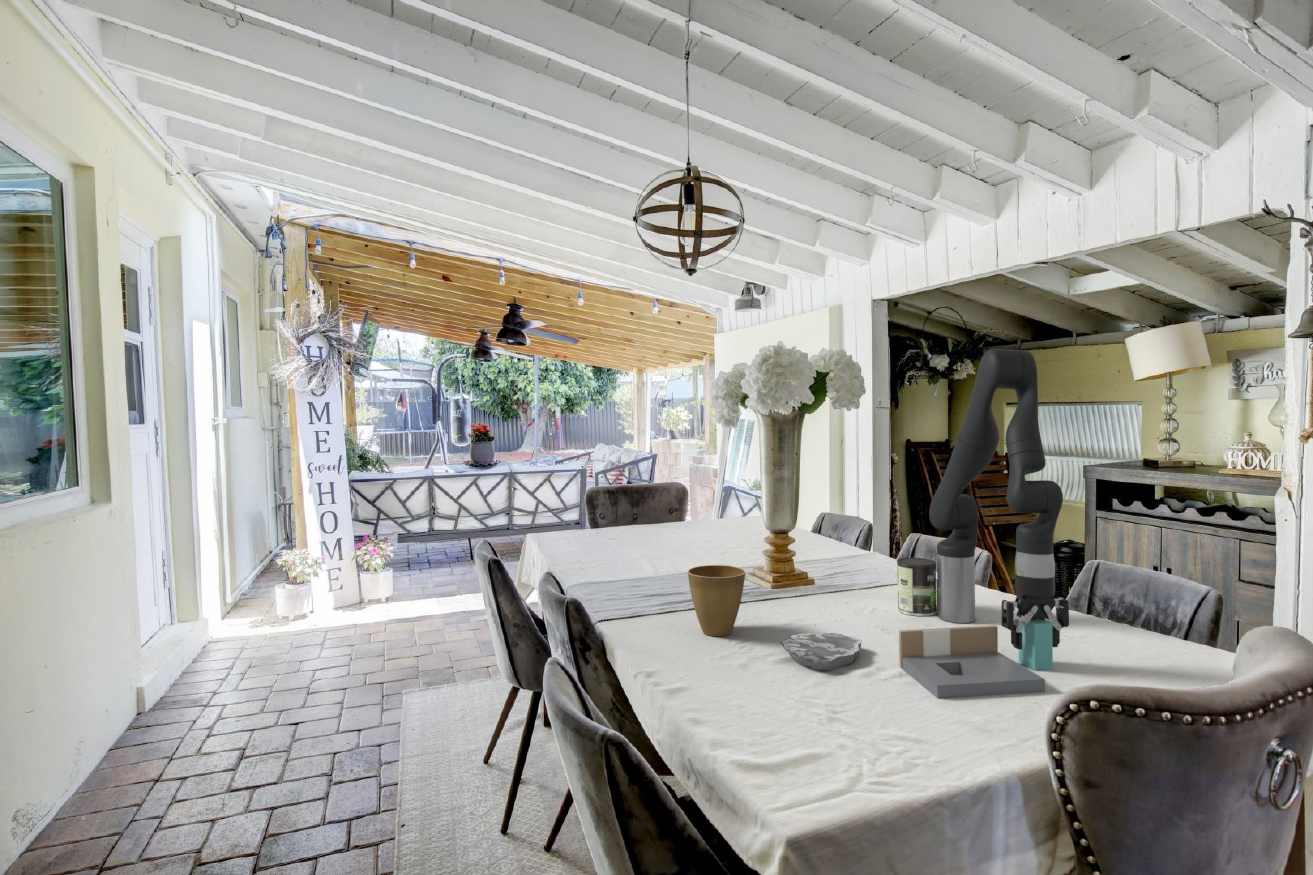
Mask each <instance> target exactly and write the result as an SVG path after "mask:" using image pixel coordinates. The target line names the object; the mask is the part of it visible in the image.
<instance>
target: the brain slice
mask: <svg viewBox="0 0 1313 875" xmlns="http://www.w3.org/2000/svg"><path fill="white" fill-rule="evenodd" d="M789 638H790V639H784V640H781V642H780V644H781V646H782V648H783V649H784V650H785V651H786V652H788V655H789V656H790V657H791V659H793V661H794V662H795V663H797V664H798V665H799V666H802V667H805V668H807V667H808V668H810V669H812V670H814V671H822V672H823V671H827V672H828V671H833V670H835V669H839V668H842V667H847V665H850V664H851V663H853V662H854V661H856V660H857V658H858V656H859V654H860V649H861V647H862V640H861V639H859V638H857V637H853V636H848V635H845V634H841V633H835V632H831V633H828V632H816V633H815V632H808V633H807V632H806V633H803V632H802V633H797V634H792V635H790V636H789Z"/></svg>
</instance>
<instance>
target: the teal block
mask: <svg viewBox="0 0 1313 875" xmlns="http://www.w3.org/2000/svg"><path fill="white" fill-rule="evenodd" d="M1021 618H1023V615H1022V616H1021ZM1021 633H1022V649H1018V662H1019V663H1021V664H1022V665H1025V666H1026V667H1027V668H1029V669H1031V670H1033V672H1035V671H1036V672H1037V671H1052V670H1054V669H1053V666H1054V665H1053V663H1054V662H1053V660H1054V659H1053V657H1054V656H1053V652H1054V651H1053V648H1054V647H1053V637H1052V623H1051V622H1048V621H1046V620H1040V619H1037V620H1030V621H1029V623H1028V624H1027V625H1025V626H1024V627H1023V629H1022V631H1021Z"/></svg>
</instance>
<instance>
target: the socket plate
mask: <svg viewBox="0 0 1313 875" xmlns="http://www.w3.org/2000/svg"><path fill="white" fill-rule="evenodd" d="M998 627H999V626H996V625H979V626H977V625H976V626H975V625H974V626H961V627H960V626H959V627H958V626H957V627H939V628H925V629H924V628H922V629H921V628H920V629H918V628H917V629H902V630H898V651H899V652H898V654H899V658H898V659H899V660H898V661H899V663H898V664H899V665H898V666H899V668H901V669H902V671H904V672H905V674H906V673H907V675H909V676H910V677H911V678H913V680H915V682H917V683H919V685H921V686H922V687H923V688H924V689H926V690H927V691H928V692H929V693H931V695H933V696H934V697H936V698H937V699H945V698H949V699H950V698H959V697H960V698H961V697H962V698H963V697H976V696H977V697H978V696H992V695H993V696H994V695H996V696H997V695H1008V694H1009V695H1011V694H1014V695H1015V694H1027V693H1040V692H1041V693H1043V692H1044V693H1045V690H1046V681H1045V678H1044V677H1042V676H1040V675H1038V674H1037V673H1035V671H1032V670H1030V669H1028V667H1027V668H1026V667H1025V666H1023V664H1022V665H1021V664H1019V663H1018V662H1017V661H1014V660H1013V659H1012V658H1010V657H1008V656H1006V655H1005V654H1003V653H1001V652H999V650H998V649H999V645H998V644H999V643H998V642H999V640H998V639H999V637H998V636H999V635H998V633H999V632H998ZM957 674H960V675H957Z"/></svg>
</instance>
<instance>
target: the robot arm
mask: <svg viewBox="0 0 1313 875" xmlns="http://www.w3.org/2000/svg"><path fill="white" fill-rule="evenodd" d="M1037 368H1038V367H1037V363H1036V359H1035V357H1034V355H1033V353H1031V352H1030V351H1028V350H1022V349H1012V348H1011V349H1009V348H991V349H988V350H987V351H985V352H984V354H983V355H982V357H981V359H980V362H979V365H978V367H977V371H976V375H975V380H974V384H973V389H972V392H971V396H970V400H969V404H968V407H967V411H966V413H965V416H964V420H963V422H962V424H961V426H960V429H959V432H958V434H957V437H956V440H955V443H954V445H953V446H954V447H953V449H952V453H951V456H950V459H949V462H948V464H947V467H946V470H945V472H944V474H943V477H942V478H941V481H940V483H939V485H938V487H937V489H936V491H935V493H934V495H933V497H932V500H931V502H930V505H929V511H928V512H929V513H928V514H929V520H930V523H931V525H932V526H933V527H934V528H935V529H937V530H943V531H945V530H946V531H947V530H948V531H951V530H952V533H951V534H949V536H948V537H946V538H944V539H943V540H941V541H939V542H938V543H937V545H936V611H937V613H936V614H937V617H938V619H941V620H942V621H945V622H950V623H958V624H959V623H961V624H966V623H967V624H968V623H969V624H970V623H973V622H975V621H976V578H975V577H976V572H975V571H976V568H975V567H976V566H975V564H976V563H975V562H976V560H975V551H976V548H977V545H978V531H979V530H978V529H979V528H978V527H979V509H978V504H977V502H976V500H975V499H974V498H973V497H972V496H971V495H969V494H962V493H963V492H964V490H966V487H968V485H970V483H971V482H972V481H974V480H975V479H976V478H977V477H978V476H979V475H980V474H982V473H983V472H984V471H985V469H987V468H988V467H989V465H990V464H991V462H992V460H993V458H994V456H995V453H996V450H997V447H998V445H999V442H1000V431H999V428H998V425H997V422H996V419H995V417H994V412H993V408H992V403H993V398H994V395H995V392H996V390H997V389H1002V390H1003V389H1006V390H1007V389H1008V390H1014V391H1015V394H1016V399H1017V404H1016V405H1017V406H1016V408H1015V412H1014V413H1013V415H1012V417H1011V418H1010V419H1011V420H1010V421H1009V423H1008V425H1007V429H1006V431H1005V448H1006V453H1007V458H1008V464H1009V470H1008V471H1009V472H1008V482H1007V484H1008V485H1007V488H1006V489H1007V490H1006V497H1005V498H1006V503H1007V505H1008V507H1009V508H1010V509H1011V511H1013V512H1014V513H1016V514H1038V515H1037V517H1036V519H1035V520H1033V521H1031V522H1025V523H1022V524H1019V525H1018V526H1016V528H1015V529H1016V530H1015V540H1016V544H1015V545H1016V546H1015V547H1016V548H1015V549H1016V550H1015V558H1014V588H1015V589H1014V590H1015V594H1016V597H1015V600H1007V599H1002V600H1001V616H1000V617H1001V621H1000V622H1001V624H1000V625H1001V626H1002V627H1003V628H1005V629H1007V630H1009V631H1010V644H1011V645H1012V646H1013V648H1015V649H1016V650H1019V649H1022V633H1021V631H1022V629H1023V627H1024V626H1025V625H1027V624H1028V623H1029V621H1030V620H1037V619H1040V620H1046V621H1048V622H1051V623H1052V637H1053V648H1058V647H1059V645H1060V642H1061V639H1060V638H1061V637H1060V636H1061V633H1060V632H1061V630H1062V628H1068V627H1069V626H1070V605H1069V600H1068V599H1065V598H1064V597H1061V596H1057V597H1056V598H1055V597H1054V596H1055V594H1056V562H1055V556H1054V535H1055V529H1056V525H1057V521H1058V518H1059V515H1060V512H1061V510H1062V506H1063V503H1064V494H1063V493H1064V492H1063V491H1062V488H1061V487H1060V485H1059V484H1058V483H1057V482H1056V481H1054V480H1047V479H1045V480H1026V475H1030V474H1035V473H1038V472H1041V471H1042V470H1043V469H1044V468H1045V467H1046V465H1047V464H1046V462H1047V461H1046V456H1045V451H1044V447H1043V443H1042V436H1041V432H1040V431H1041V430H1040V424H1039V391H1038V390H1039V388H1038V385H1039V384H1038V370H1037ZM1054 608H1055V614H1054V612H1053V610H1054ZM1016 609H1017V610H1016ZM1015 611H1016V612H1015ZM1014 612H1015V613H1014ZM1021 616H1023V618H1021Z"/></svg>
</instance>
